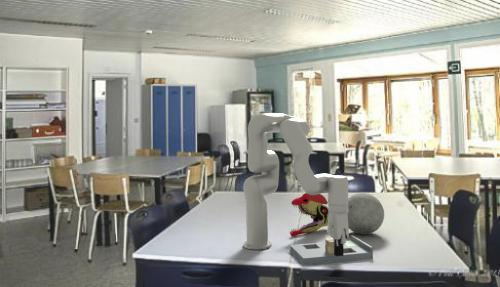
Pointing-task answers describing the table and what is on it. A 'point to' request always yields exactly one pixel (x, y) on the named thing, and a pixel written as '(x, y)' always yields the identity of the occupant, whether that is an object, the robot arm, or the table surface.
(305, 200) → the toy
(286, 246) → the table surface
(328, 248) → the beech cube
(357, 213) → the decorative sphere
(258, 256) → the table surface
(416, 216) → the table surface
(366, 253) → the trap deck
